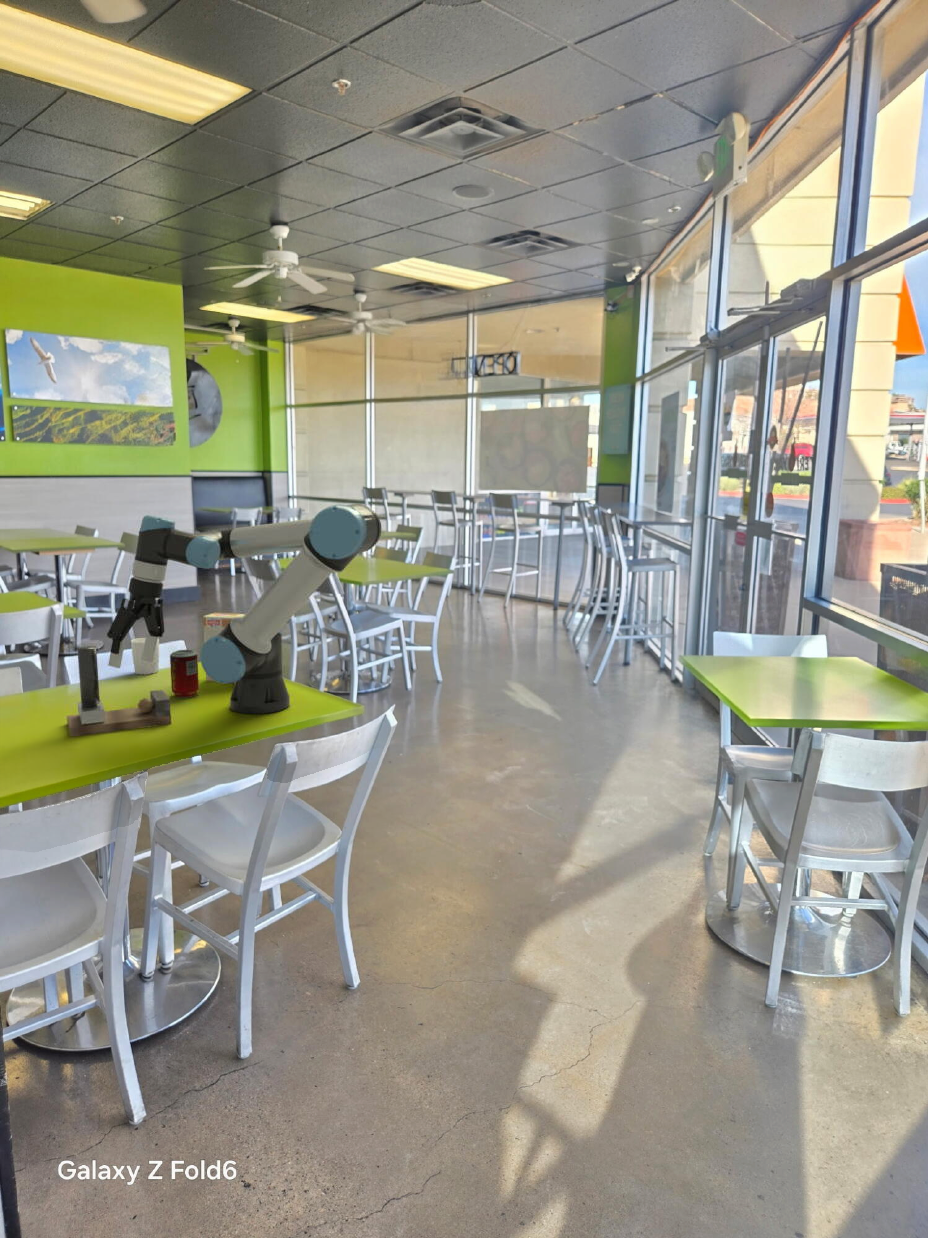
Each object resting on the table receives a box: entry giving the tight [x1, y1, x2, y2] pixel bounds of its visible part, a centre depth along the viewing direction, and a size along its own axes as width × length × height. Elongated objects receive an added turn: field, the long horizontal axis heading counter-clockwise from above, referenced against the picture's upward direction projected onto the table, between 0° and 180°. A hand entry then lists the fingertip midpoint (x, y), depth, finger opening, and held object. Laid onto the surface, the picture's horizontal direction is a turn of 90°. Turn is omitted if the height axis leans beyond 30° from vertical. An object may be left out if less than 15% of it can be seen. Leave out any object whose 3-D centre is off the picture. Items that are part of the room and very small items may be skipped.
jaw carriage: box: [76, 645, 105, 724], centre depth 188 cm, size 5×9×17 cm, turn 30°
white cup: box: [130, 637, 160, 675], centre depth 243 cm, size 8×8×10 cm
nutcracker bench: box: [66, 689, 172, 738], centre depth 192 cm, size 22×11×6 cm, turn 120°
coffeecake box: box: [203, 612, 246, 684], centre depth 234 cm, size 15×7×20 cm, turn 77°
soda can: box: [169, 649, 200, 699], centre depth 218 cm, size 7×7×12 cm
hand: (131, 663), depth 196 cm, fingers open, 13 cm apart
